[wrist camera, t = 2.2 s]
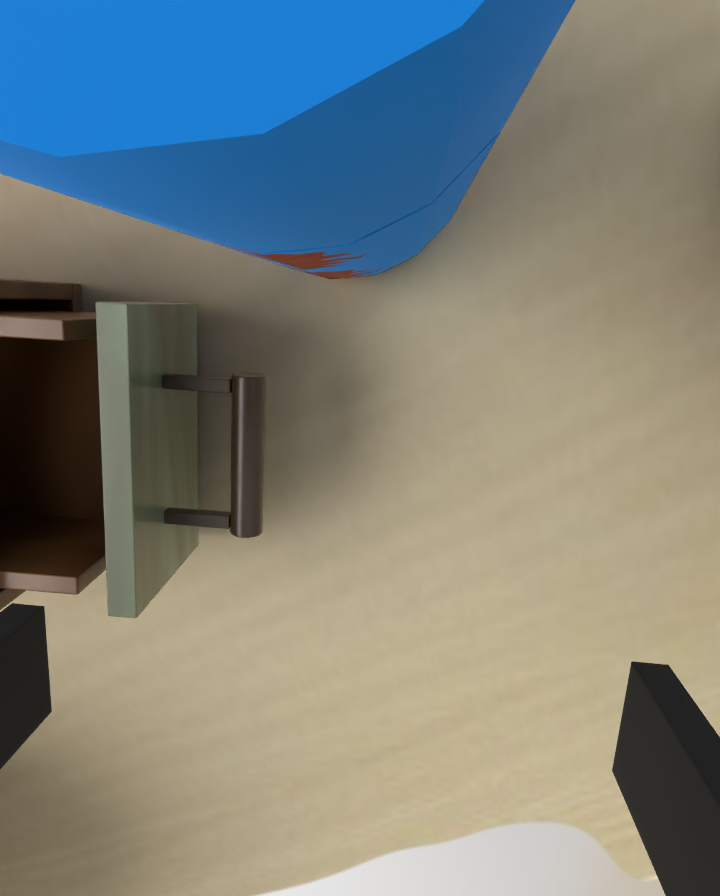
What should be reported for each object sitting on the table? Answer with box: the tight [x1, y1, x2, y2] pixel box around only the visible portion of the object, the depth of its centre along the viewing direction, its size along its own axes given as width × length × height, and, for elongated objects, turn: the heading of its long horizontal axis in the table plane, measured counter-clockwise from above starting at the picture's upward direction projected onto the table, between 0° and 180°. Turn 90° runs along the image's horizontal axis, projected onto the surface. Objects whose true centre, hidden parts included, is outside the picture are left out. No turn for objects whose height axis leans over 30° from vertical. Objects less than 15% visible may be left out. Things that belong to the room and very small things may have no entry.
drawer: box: [0, 302, 266, 618], centre depth 27 cm, size 18×12×8 cm
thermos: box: [0, 0, 575, 279], centre depth 16 cm, size 11×11×25 cm
